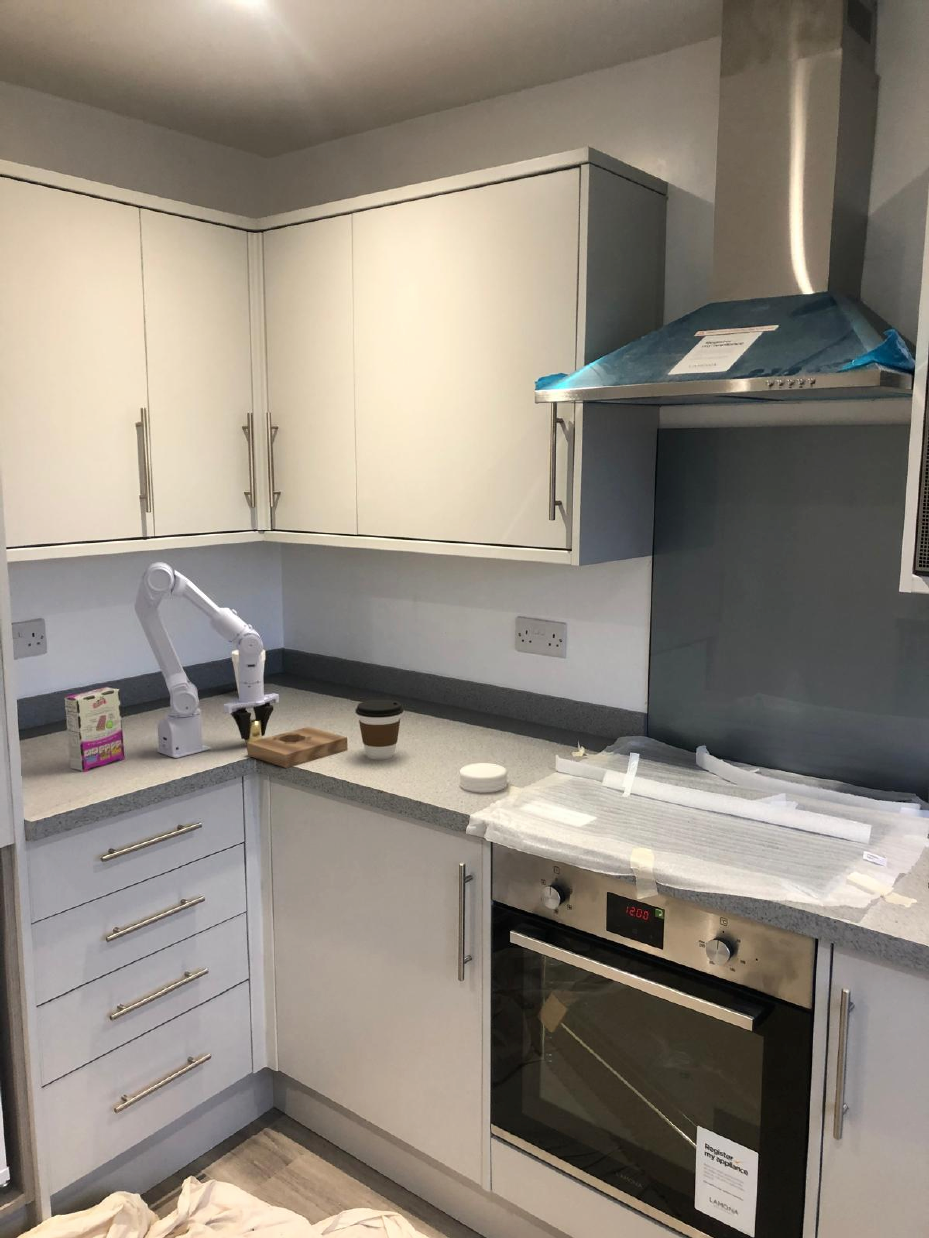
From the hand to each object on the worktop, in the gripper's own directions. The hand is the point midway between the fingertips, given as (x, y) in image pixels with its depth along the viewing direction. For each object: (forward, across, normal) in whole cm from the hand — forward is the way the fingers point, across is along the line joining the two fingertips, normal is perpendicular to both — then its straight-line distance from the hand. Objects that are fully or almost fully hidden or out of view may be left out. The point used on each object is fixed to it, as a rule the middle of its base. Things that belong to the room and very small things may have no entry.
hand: (253, 736), depth 231 cm
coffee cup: (+2, +14, -29) cm, 32 cm away
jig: (+2, +3, -13) cm, 13 cm away
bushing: (+2, 0, 0) cm, 2 cm away
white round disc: (+2, +14, -60) cm, 62 cm away
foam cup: (+2, +29, +41) cm, 50 cm away
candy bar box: (+2, -32, +14) cm, 35 cm away
